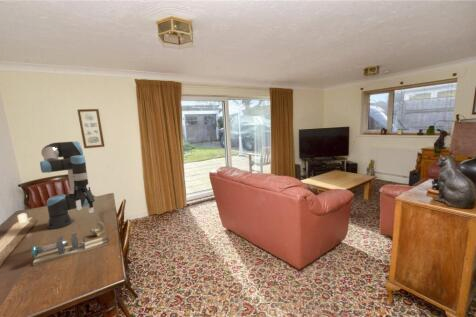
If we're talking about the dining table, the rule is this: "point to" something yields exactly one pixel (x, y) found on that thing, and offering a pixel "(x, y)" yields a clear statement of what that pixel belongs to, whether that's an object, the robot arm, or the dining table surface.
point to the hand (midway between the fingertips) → (85, 211)
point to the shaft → (45, 248)
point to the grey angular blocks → (74, 243)
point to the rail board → (70, 251)
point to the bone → (98, 229)
